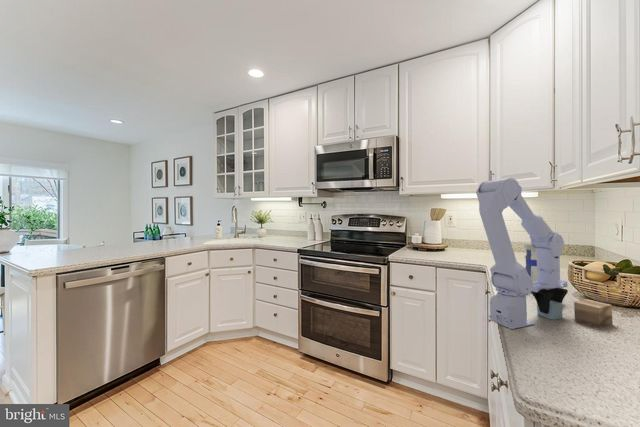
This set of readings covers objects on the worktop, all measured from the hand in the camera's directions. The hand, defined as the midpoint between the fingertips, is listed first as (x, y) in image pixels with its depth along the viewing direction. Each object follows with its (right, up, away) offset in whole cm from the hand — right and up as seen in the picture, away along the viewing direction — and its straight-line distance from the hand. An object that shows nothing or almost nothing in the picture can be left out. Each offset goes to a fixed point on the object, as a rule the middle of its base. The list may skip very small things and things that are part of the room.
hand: (549, 311), depth 89 cm
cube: (0, -1, 0) cm, 1 cm away
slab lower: (+8, -2, -6) cm, 10 cm away
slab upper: (+8, +2, -6) cm, 10 cm away
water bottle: (+20, -1, +31) cm, 36 cm away
